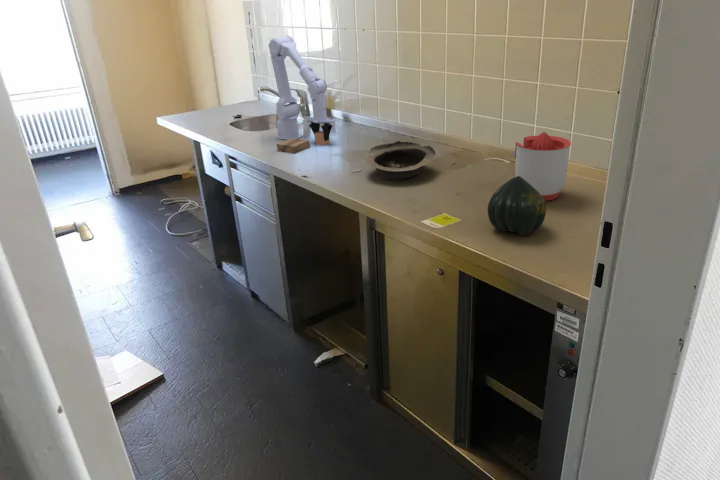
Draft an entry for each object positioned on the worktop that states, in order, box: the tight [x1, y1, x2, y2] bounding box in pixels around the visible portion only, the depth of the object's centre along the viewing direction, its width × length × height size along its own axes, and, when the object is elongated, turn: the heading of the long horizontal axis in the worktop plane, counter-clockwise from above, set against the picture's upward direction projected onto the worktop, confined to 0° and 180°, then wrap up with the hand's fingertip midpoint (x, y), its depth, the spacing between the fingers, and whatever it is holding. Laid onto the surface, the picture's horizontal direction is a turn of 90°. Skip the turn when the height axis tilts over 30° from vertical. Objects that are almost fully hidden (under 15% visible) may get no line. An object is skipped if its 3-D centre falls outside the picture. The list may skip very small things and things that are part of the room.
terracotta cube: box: [313, 130, 331, 146], centre depth 238 cm, size 4×4×5 cm
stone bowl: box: [365, 140, 436, 181], centre depth 193 cm, size 25×25×9 cm
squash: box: [487, 176, 547, 236], centre depth 145 cm, size 14×15×15 cm
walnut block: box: [276, 138, 311, 155], centre depth 233 cm, size 10×10×4 cm
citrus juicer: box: [510, 131, 572, 202], centre depth 165 cm, size 16×17×20 cm
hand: (322, 139), depth 239 cm, fingers closed on terracotta cube, 4 cm apart
